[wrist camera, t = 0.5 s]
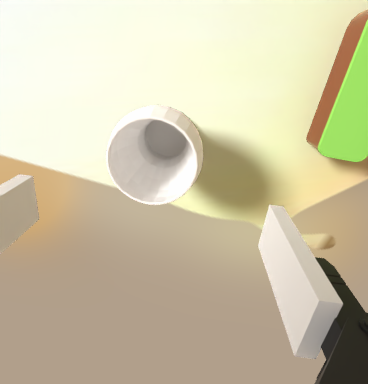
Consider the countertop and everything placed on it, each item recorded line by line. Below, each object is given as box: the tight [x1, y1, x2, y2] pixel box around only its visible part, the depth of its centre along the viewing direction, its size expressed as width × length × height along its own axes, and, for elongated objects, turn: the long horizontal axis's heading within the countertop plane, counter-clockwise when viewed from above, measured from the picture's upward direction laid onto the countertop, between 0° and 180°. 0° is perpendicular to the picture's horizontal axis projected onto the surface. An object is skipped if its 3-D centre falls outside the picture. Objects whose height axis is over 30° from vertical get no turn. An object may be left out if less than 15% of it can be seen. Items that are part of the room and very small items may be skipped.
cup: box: [106, 105, 203, 205], centre depth 34 cm, size 11×11×15 cm
